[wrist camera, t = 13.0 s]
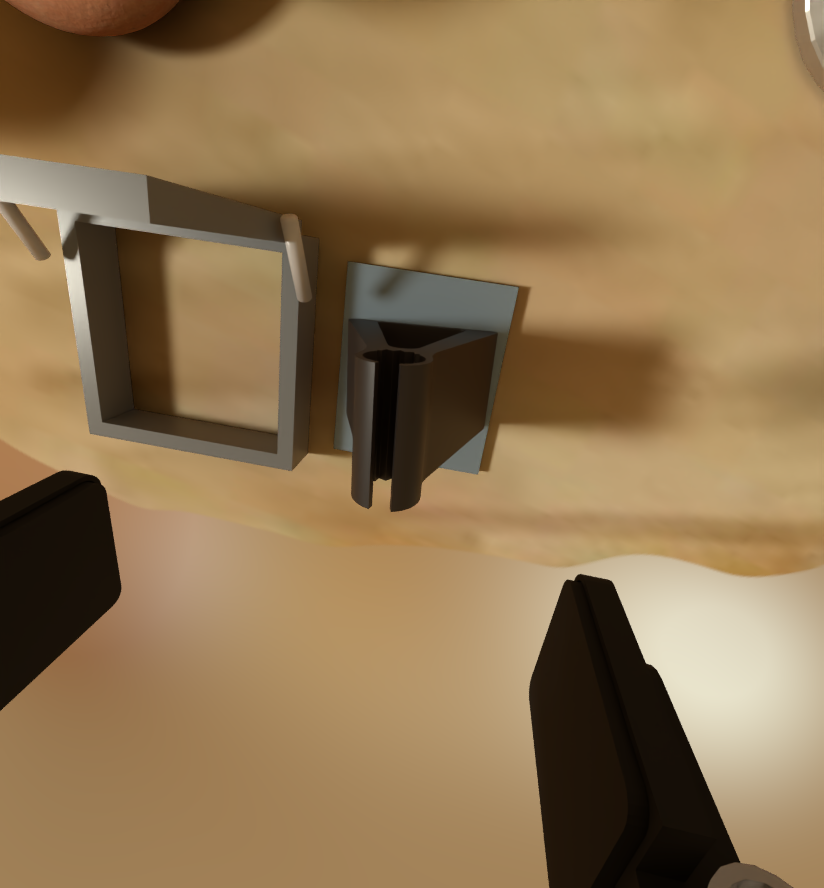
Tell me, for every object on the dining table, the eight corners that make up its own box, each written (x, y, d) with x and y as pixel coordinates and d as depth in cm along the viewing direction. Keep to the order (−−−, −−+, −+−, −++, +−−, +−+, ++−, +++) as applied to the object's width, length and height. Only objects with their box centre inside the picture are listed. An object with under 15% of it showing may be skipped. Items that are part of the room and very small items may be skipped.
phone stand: (498, 332, 26) (517, 377, 15) (483, 427, 29) (491, 526, 18) (350, 317, 27) (265, 349, 16) (347, 410, 29) (271, 495, 18)
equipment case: (336, 226, 26) (180, 176, 12) (321, 455, 32) (202, 601, 18) (80, 188, 27) (-335, 103, 13) (109, 417, 33) (-160, 526, 19)
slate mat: (517, 286, 26) (518, 287, 25) (477, 470, 30) (478, 474, 30) (350, 261, 27) (348, 261, 26) (336, 445, 31) (333, 448, 30)
